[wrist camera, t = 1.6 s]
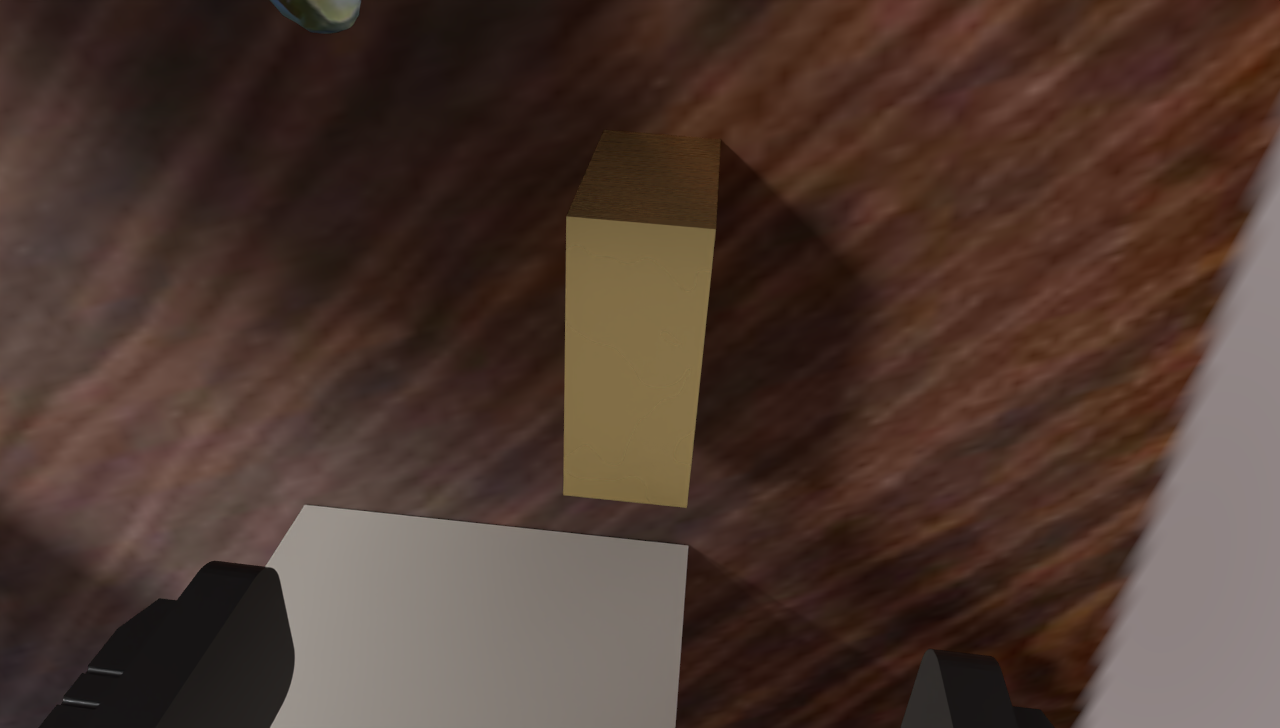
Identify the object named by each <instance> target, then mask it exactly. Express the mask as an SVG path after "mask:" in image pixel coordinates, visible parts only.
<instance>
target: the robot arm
mask: <svg viewBox="0 0 1280 728" xmlns="http://www.w3.org/2000/svg"><path fill="white" fill-rule="evenodd" d="M294 665H295V650H294V644H293V640H292V635H291V630H290V625H289V621H288V616H287V611H286V606H285V601H284V597H283V592H282V587H281V582H280V578H279V575H278V573H277V571H276V570H275V569H273V568H271V567H263V566H254V565H246V564H238V563H229V562H221V561H211V562H209V563H207V564H206V565H205V566H203V567H202V568H201V569H200V571H199V572H198V573H197V574H196V576H195V577H194V578H193V580H192V581H191V582H190V584H189V585H188V586H187V588H186V589H185V590H184V592H183V593H182V594H181V596H180V597H179V598H178V600H177V601H176V600H168V599H160V598H159V599H158V600H157V601H155V602H154V603H153V604H151V605H150V606H148V607H147V608H146V609H144V610H143V611H141V612H140V613H139V614H137V615H136V616H134V617H133V618H132V619H130V620H129V621H128V622H126V623H125V624H123V625H122V626H121V627H119V628H118V629H117V630H116V631H115V633H114V634H113V635H112V636H111V638H110V639H109V640H108V641H107V643H106V644H105V645H104V646H103V648H102V649H101V650H100V651H99V653H98V654H97V655H96V656H95V658H94V659H93V660H92V661H91V663H90V664H89V665H88V671H87V672H86V673H82V674H81V675H80V677H79V678H78V679H77V680H76V682H75V683H74V684H73V685H72V687H71V688H70V689H69V690H68V692H67V693H66V694H65V695H64V700H63V702H62V704H61V705H56V707H55V708H54V709H53V710H52V712H51V713H50V714H49V715H48V717H47V718H46V719H45V720H44V722H43V723H42V724H41V725H40V727H39V728H270V727H271V725H272V723H273V721H274V719H275V718H276V716H277V714H278V712H279V710H280V708H281V706H282V705H283V703H284V700H285V698H286V696H287V694H288V691H289V688H290V685H291V681H292V677H293V672H294ZM901 728H1054V727H1053V725H1052V724H1051V723H1050V721H1049V720H1048V719H1047V717H1046V716H1045V715H1044V714H1043V712H1042V711H1041V710H1039V709H1031V708H1023V707H1014V706H1012V704H1011V701H1010V698H1009V694H1008V691H1007V688H1006V684H1005V681H1004V678H1003V674H1002V671H1001V668H1000V666H999V664H998V662H997V661H996V659H995V658H993V657H991V656H984V655H976V654H968V653H959V652H951V651H943V650H934V649H928V650H927V651H926V652H925V654H924V656H923V658H922V661H921V664H920V668H919V671H918V674H917V677H916V680H915V683H914V687H913V690H912V693H911V696H910V699H909V702H908V706H907V709H906V712H905V715H904V718H903V721H902V724H901Z"/></svg>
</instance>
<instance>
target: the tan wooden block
mask: <svg viewBox="0 0 1280 728" xmlns="http://www.w3.org/2000/svg"><path fill="white" fill-rule="evenodd" d="M720 144H721V139H709V138H697V137H685V136H672V135H660V134H648V133H636V132H623V131H611V130H604V131H603V134H602V136H601V138H600V140H599V143H598V145H597V147H596V150H595V152H594V154H593V157H592V159H591V161H590V163H589V166H588V168H587V170H586V173H585V175H584V177H583V179H582V182H581V184H580V186H579V189H578V191H577V193H576V195H575V198H574V200H573V202H572V205H571V207H570V209H569V211H568V214H567V216H566V296H565V391H564V485H563V495H567V496H577V497H587V498H596V499H606V500H616V501H626V502H636V503H645V504H655V505H665V506H675V507H684V508H687V501H688V492H689V482H690V472H691V463H692V453H693V444H694V434H695V425H696V415H697V405H698V396H699V386H700V377H701V367H702V358H703V348H704V338H705V329H706V319H707V310H708V300H709V291H710V281H711V271H712V262H713V252H714V243H715V233H716V218H717V200H718V181H719V162H720Z"/></svg>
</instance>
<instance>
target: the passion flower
mask: <svg viewBox="0 0 1280 728" xmlns="http://www.w3.org/2000/svg"><path fill="white" fill-rule="evenodd" d="M270 1H271V2H272V3H273V4H274V6H275V7H276V8H277V9H278V10H279V11H280V12H281V14H282V15H283V16H285V17H287V18H288V19H290V20H292V21H294V22H296V23H298V24H299V25H300V26H302V27H303V28H305V29H307V30H308V31H310V32H314V33H323V34H331V33H337V32H340V31H343V30H346V29H348V28H350V27H352V26H353V24H354V23H355V21H356V19H357V18H358V16H359V10H360V4H361V0H270Z"/></svg>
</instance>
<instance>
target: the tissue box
mask: <svg viewBox="0 0 1280 728" xmlns="http://www.w3.org/2000/svg"><path fill="white" fill-rule="evenodd" d="M687 559H688V545H679V544H669V543H660V542H650V541H641V540H632V539H622V538H613V537H603V536H594V535H585V534H575V533H566V532H556V531H547V530H537V529H528V528H519V527H509V526H500V525H490V524H481V523H472V522H462V521H453V520H443V519H434V518H424V517H415V516H406V515H396V514H387V513H377V512H368V511H359V510H349V509H340V508H330V507H321V506H312V505H304V507H303V509H302V510H301V512H300V513H299V515H298V516H297V518H296V519H295V521H294V523H293V524H292V526H291V527H290V529H289V530H288V532H287V534H286V535H285V537H284V538H283V540H282V541H281V543H280V544H279V546H278V548H277V549H276V551H275V552H274V554H273V555H272V557H271V559H270V560H269V562H268V563H267V565H266V566H265V567H271V568H273V569H275V570H276V571H277V573H278V575H279V578H280V582H281V587H282V592H283V597H284V601H285V606H286V611H287V616H288V621H289V625H290V630H291V635H292V640H293V644H294V650H295V665H294V672H293V677H292V681H291V685H290V688H289V691H288V694H287V696H286V698H285V700H284V703H283V705H282V706H281V708H280V710H279V712H278V714H277V716H276V718H275V719H274V721H273V723H272V725H271V727H270V728H675V726H676V712H677V698H678V684H679V671H680V657H681V643H682V629H683V615H684V601H685V587H686V573H687Z"/></svg>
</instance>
